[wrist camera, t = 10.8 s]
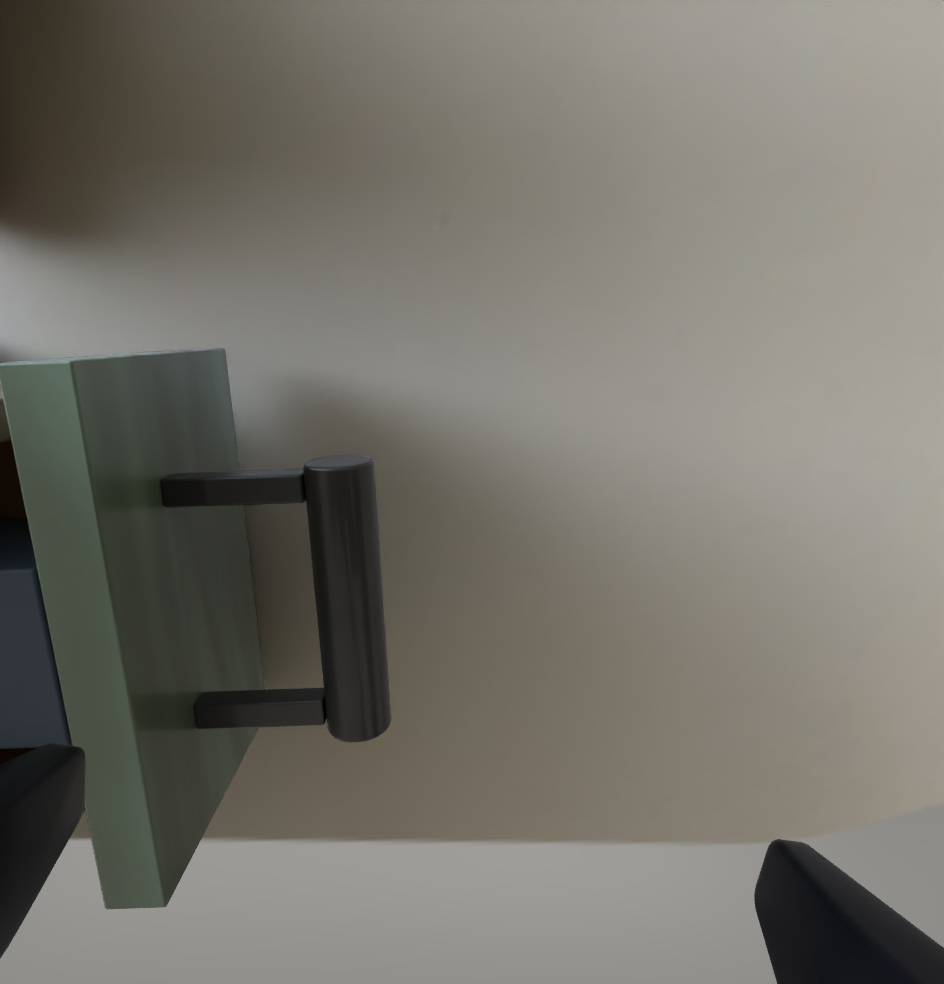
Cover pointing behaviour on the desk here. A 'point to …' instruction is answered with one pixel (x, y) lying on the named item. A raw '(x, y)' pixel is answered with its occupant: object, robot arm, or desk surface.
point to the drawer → (175, 593)
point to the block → (26, 649)
